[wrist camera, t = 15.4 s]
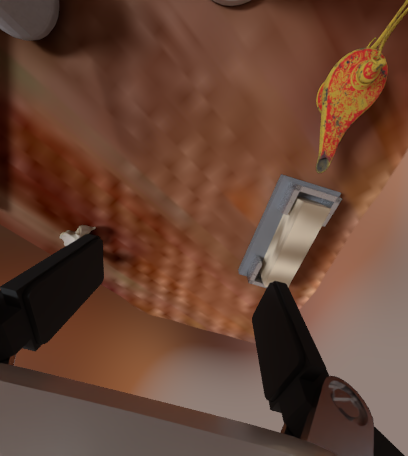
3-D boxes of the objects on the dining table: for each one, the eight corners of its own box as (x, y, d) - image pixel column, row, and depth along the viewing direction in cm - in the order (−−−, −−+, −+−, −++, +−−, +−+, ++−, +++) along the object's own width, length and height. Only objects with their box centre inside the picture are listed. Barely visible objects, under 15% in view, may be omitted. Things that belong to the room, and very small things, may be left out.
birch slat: (291, 195, 29) (304, 202, 25) (314, 200, 29) (331, 209, 25) (258, 269, 36) (264, 286, 31) (277, 274, 36) (285, 291, 31)
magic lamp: (279, 163, 29) (309, 167, 19) (343, 19, 22) (446, -97, 12) (317, 175, 29) (367, 186, 19) (393, 36, 22) (536, -63, 12)
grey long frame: (290, 181, 29) (297, 184, 26) (330, 194, 29) (342, 198, 26) (246, 273, 36) (248, 282, 34) (278, 282, 37) (283, 293, 34)
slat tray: (281, 174, 30) (283, 175, 28) (335, 191, 30) (341, 192, 29) (238, 269, 38) (239, 273, 37) (281, 282, 38) (283, 287, 37)
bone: (62, 210, 35) (48, 242, 28) (99, 215, 38) (95, 244, 31) (62, 243, 39) (50, 278, 32) (96, 244, 42) (92, 276, 35)
